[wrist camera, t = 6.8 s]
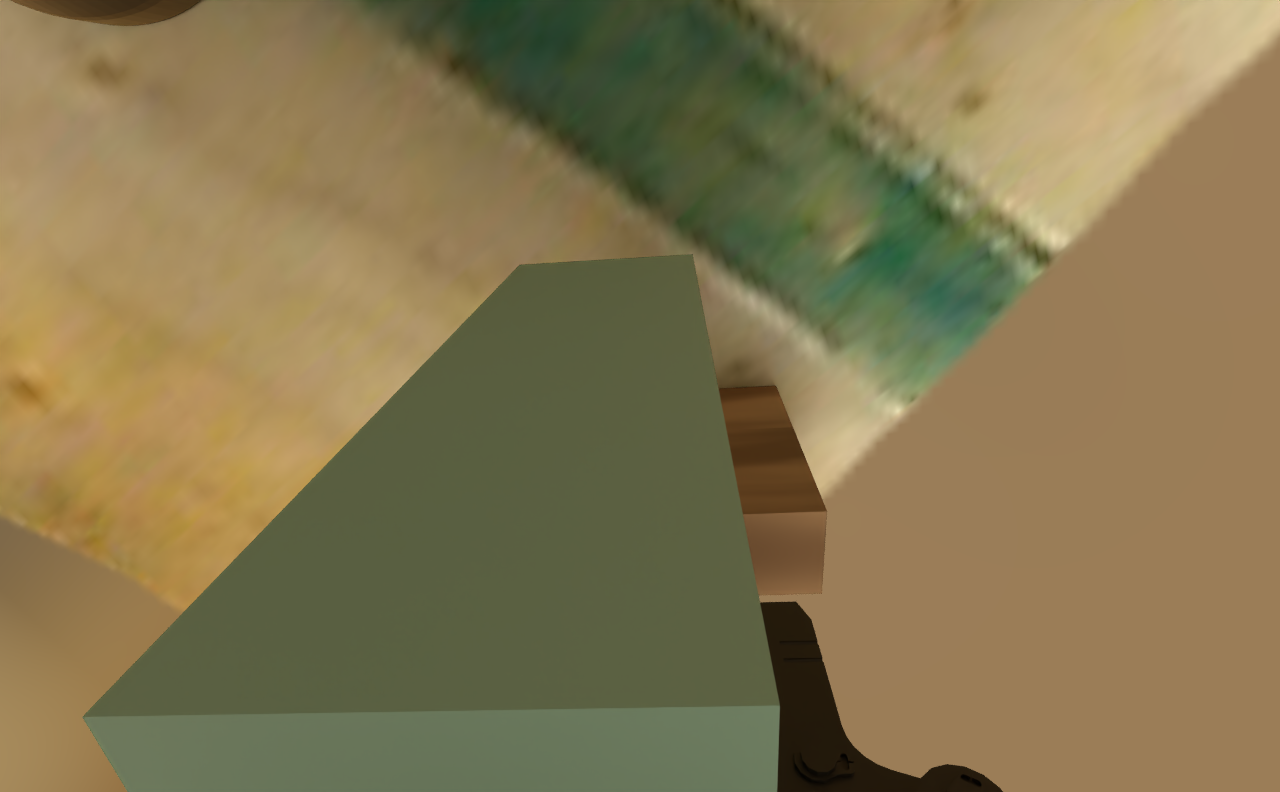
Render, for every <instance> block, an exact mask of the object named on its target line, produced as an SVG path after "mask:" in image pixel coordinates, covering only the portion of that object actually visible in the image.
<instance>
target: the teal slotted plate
mask: <svg viewBox="0 0 1280 792" xmlns="http://www.w3.org/2000/svg"><path fill="white" fill-rule="evenodd" d="M779 718H780V703H779V698H778V693H777V688H776V683H775V678H774V672H773V667H772V662H771V657H770V652H769V647H768V642H767V636H766V631H765V626H764V621H763V616H762V611H761V605H760V601H759V595H758V590H757V585H756V580H755V574H754V569H753V564H752V559H751V554H750V549H749V543H748V538H747V533H746V528H745V523H744V518H743V512H742V507H741V502H740V497H739V492H738V487H737V482H736V476H735V471H734V466H733V461H732V456H731V451H730V445H729V440H728V435H727V430H726V425H725V420H724V414H723V409H722V404H721V399H720V394H719V389H718V383H717V378H716V373H715V368H714V363H713V358H712V352H711V347H710V342H709V337H708V332H707V327H706V322H705V316H704V311H703V306H702V301H701V296H700V291H699V285H698V280H697V275H696V270H695V265H694V260H693V254H691V255H674V256H658V257H641V258H625V259H608V260H591V261H575V262H558V263H542V264H525V265H519V266H518V267H517V268H516V269H515V270H514V271H513V272H512V273H511V274H510V275H509V276H508V277H507V278H506V280H505V281H504V282H503V283H502V284H501V285H500V286H499V287H498V288H497V289H496V290H495V291H494V292H493V293H492V294H491V295H490V296H489V297H488V298H487V299H486V300H485V301H484V302H483V303H482V304H481V305H480V306H479V307H478V308H477V310H476V311H475V312H474V313H473V314H472V315H471V316H470V317H469V318H468V319H467V320H466V321H465V322H464V323H463V324H462V325H461V326H460V327H459V328H458V329H457V330H456V331H455V332H454V333H453V334H452V335H451V336H450V337H449V338H448V339H447V341H446V342H445V343H444V344H443V345H442V346H441V347H440V348H439V349H438V350H437V351H436V352H435V353H434V354H433V355H432V356H431V357H430V358H429V359H428V360H427V361H426V362H425V363H424V364H423V365H422V366H421V367H420V368H419V369H418V370H417V372H416V373H415V374H414V375H413V376H412V377H411V378H410V379H409V380H408V381H407V382H406V383H405V384H404V385H403V386H402V387H401V388H400V389H399V390H398V391H397V392H396V393H395V394H394V395H393V396H392V397H391V398H390V399H389V400H388V401H387V403H386V404H385V405H384V406H383V407H382V408H381V409H380V410H379V411H378V412H377V413H376V414H375V415H374V416H373V417H372V418H371V419H370V420H369V421H368V422H367V423H366V424H365V425H364V426H363V427H362V428H361V429H360V430H359V431H358V433H357V434H356V435H355V436H354V437H353V438H352V439H351V440H350V441H349V442H348V443H347V444H346V445H345V446H344V447H343V448H342V449H341V450H340V451H339V452H338V453H337V454H336V455H335V456H334V457H333V458H332V459H331V460H330V461H329V462H328V464H327V465H326V466H325V467H324V468H323V469H322V470H321V471H320V472H319V473H318V474H317V475H316V476H315V477H314V478H313V479H312V480H311V481H310V482H309V483H308V484H307V485H306V486H305V487H304V488H303V489H302V490H301V491H300V492H299V493H298V495H297V496H296V497H295V498H294V499H293V500H292V501H291V502H290V503H289V504H288V505H287V506H286V507H285V508H284V509H283V510H282V511H281V512H280V513H279V514H278V515H277V516H276V517H275V518H274V519H273V520H272V521H271V522H270V523H269V524H268V526H267V527H266V528H265V529H264V530H263V531H262V532H261V533H260V534H259V535H258V536H257V537H256V538H255V539H254V540H253V541H252V542H251V543H250V544H249V545H248V546H247V547H246V548H245V549H244V550H243V551H242V552H241V553H240V554H239V555H238V557H237V558H236V559H235V560H234V561H233V562H232V563H231V564H230V565H229V566H228V567H227V568H226V569H225V570H224V571H223V572H222V573H221V574H220V575H219V576H218V577H217V578H216V579H215V580H214V581H213V582H212V583H211V584H210V585H209V587H208V588H207V589H206V590H205V591H204V592H203V593H202V594H201V595H200V596H199V597H198V598H197V599H196V600H195V601H194V602H193V603H192V604H191V605H190V606H189V607H188V608H187V609H186V610H185V611H184V612H183V613H182V614H181V615H180V616H179V618H178V619H177V620H176V621H175V622H174V623H173V624H172V625H171V626H170V627H169V628H168V629H167V630H166V631H165V632H164V633H163V634H162V635H161V636H160V637H159V638H158V639H157V641H155V642H154V643H153V645H152V646H150V647H149V649H148V650H147V651H146V652H145V653H144V654H143V655H142V656H141V657H140V658H139V659H138V660H137V661H136V662H135V663H134V664H133V665H132V666H131V667H130V668H129V669H128V670H127V671H126V672H125V673H124V674H123V675H122V677H120V679H119V680H118V681H117V682H116V683H115V684H114V685H113V686H112V687H111V688H110V689H109V690H108V691H107V692H106V693H105V694H104V695H103V696H102V697H101V698H100V699H99V700H98V701H97V702H96V703H95V704H94V705H93V706H92V707H91V708H90V710H89V711H88V712H87V713H86V714H85V715H84V716H83V719H84V720H85V722H86V724H87V726H88V727H89V729H90V731H91V732H92V734H93V735H94V737H95V739H96V740H97V742H98V744H99V745H100V747H101V749H102V750H103V752H104V754H105V755H106V757H107V758H108V760H109V762H110V763H111V765H112V767H113V768H114V770H115V772H116V773H117V775H118V777H119V778H120V780H121V781H122V783H123V785H124V787H125V788H126V790H127V792H777V781H778V749H779Z"/></svg>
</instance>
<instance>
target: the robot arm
mask: <svg viewBox="0 0 1280 792" xmlns="http://www.w3.org/2000/svg"><path fill="white" fill-rule="evenodd" d="M11 1H13V2H15V3H18V4H20V5H23V6H26V7H29V8H31V9H34V10H37V11H40V12H44V13H47V14H51V15H54V16H59V17H64V18H69V19H75V20H81V21H88V22H94V23H100V24H108V25H119V26H133V25H144V24H150V23H155V22H159V21H162V20H165V19H168V18H171V17H173V16H176V15H178V14H180V13H182V12H184V11H185V10H187V9H189V8H190V7H192V6H193V5H195V4H196V3H197V2H199V1H200V0H11ZM760 605H761V611H762V616H763V621H764V626H765V631H766V636H767V642H768V647H769V652H770V657H771V662H772V667H773V672H774V678H775V683H776V688H777V693H778V698H779V703H780V718H779V749H778V781H777V792H1003V791H1002V790H1001V789H1000V788H999V787H998V786H997V785H995V784H994V783H993V782H992V781H990V780H989V779H988V778H987V777H985V776H984V775H982V774H980V773H978V772H976V771H973V770H971V769H969V768H967V767H963V766H956V765H948V764H947V765H942V766H938V767H934V768H931V769H930V770H929V771H928V772H927V773H926V774H925V775H924V776H923V777H921V778H917V777H914V776H911V775H907V774H904V773H900V772H897V771H894V770H890V769H888V768H885V767H883V766H880V765H877V764H876V763H874V762H873V761H871V760H869V759H868V758H866V757H865V756H863V755H862V754H861V753H860V752H859V751H858V750H857V749H856V748H855V747H854V746H853V745H852V744H851V742H850V741H849V739H848V738H847V736H846V734H845V732H844V730H843V727H842V725H841V721H840V718H839V714H838V711H837V707H836V704H835V700H834V697H833V693H832V690H831V686H830V683H829V680H828V676H827V673H826V669H825V666H824V662H823V661H822V655H821V652H820V648H819V645H818V644H817V638H816V634H815V631H814V628H813V624H812V621H811V619H810V618H809V616H808V615H807V614H806V613H805V612H804V611H803V609H802V608H801V607H800V606H799V605H798V603H797V602H763V603H760Z"/></svg>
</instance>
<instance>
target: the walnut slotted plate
mask: <svg viewBox="0 0 1280 792" xmlns="http://www.w3.org/2000/svg"><path fill="white" fill-rule="evenodd" d="M719 394H720V399H721V404H722V409H723V414H724V420H725V425H726V430H727V435H728V440H729V445H730V451H731V456H732V461H733V466H734V471H735V476H736V482H737V487H738V492H739V497H740V502H741V507H742V512H743V518H744V523H745V528H746V533H747V538H748V543H749V549H750V554H751V559H752V564H753V569H754V574H755V580H756V585H757V590H758V595H786V594H787V595H788V594H822V582H823V567H824V551H825V535H826V520H827V510H826V508H825V505H824V503H823V500H822V498H821V495H820V493H819V490H818V488H817V486H816V483H815V481H814V478H813V476H812V473H811V471H810V468H809V466H808V463H807V461H806V458H805V456H804V454H803V451H802V449H801V446H800V444H799V441H798V439H797V436H796V434H795V431H794V429H793V427H792V424H791V422H790V419H789V417H788V414H787V412H786V409H785V407H784V404H783V402H782V399H781V397H780V395H779V392H778V390H777V387H776V386H765V387H744V388H723V389H719Z"/></svg>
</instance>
